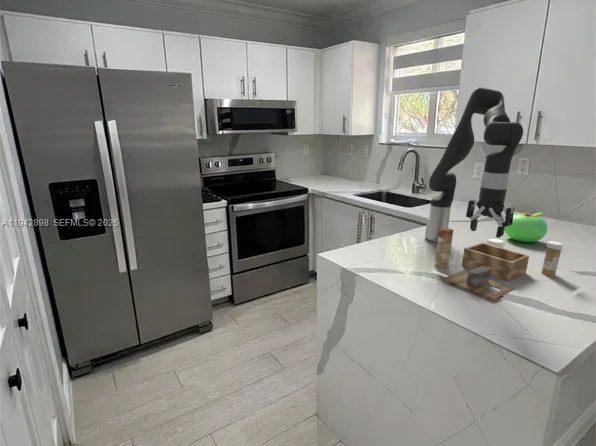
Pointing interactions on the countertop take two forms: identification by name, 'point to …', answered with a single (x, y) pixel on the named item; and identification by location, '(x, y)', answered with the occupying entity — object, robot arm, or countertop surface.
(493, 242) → the white cylinder
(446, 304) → the countertop surface
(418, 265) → the countertop surface
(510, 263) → the wooden box
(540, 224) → the green rounded piece
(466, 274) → the lid
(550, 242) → the sprinkles bottle
